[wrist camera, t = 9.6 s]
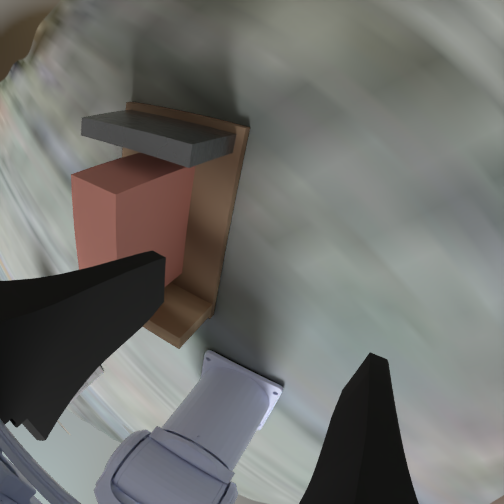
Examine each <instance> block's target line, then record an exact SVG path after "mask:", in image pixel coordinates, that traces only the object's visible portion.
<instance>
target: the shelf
mask: <svg viewBox="0 0 504 504" xmlns="http://www.w3.org/2000/svg"><path fill="white" fill-rule="evenodd" d="M126 110H136V111H141V112H146V113H151V114H156V115H161V116H165V117H170V118H174V119H179V120H183V121H188V122H192V123H196V124H200V125H204V126H208V127H212V128H216V129H219V130H223V131H227V132H231V133H234V134H237V135H236V140H235V145H234V150H233V153H231V154H228V155H225V156H222V157H219V158H216V159H213V160H210V161H207V162H205V163H202V164H199V165H196V166H195V173H194V179H193V186H192V193H191V201H190V208H189V216H188V224H187V232H186V241H185V250H184V259H183V269H182V273H181V274H180V275H179V276H178V277H177V278H175V279H174V280H173V281H172V282H170V283H169V284H168V285H167V286H166V287H165V289H164V302H163V304H162V305H161V306H160V307H159V309H158V310H157V311H156V312H155V313H154V315H153V316H152V317H151V318H150V319H149V320H148V322H147V323H145V324H144V325H143V327H144V328H146V329H147V330H149V331H151V332H152V333H154V334H155V335H157V336H159V337H160V338H162V339H163V340H165V341H167V342H168V343H170V344H172V345H173V346H175V347H177V348H178V349H180V348H181V347H182V345H183V344H184V343H185V342H186V341H187V340H188V339H189V338H190V337H191V336H192V335H193V333H194V332H195V331H196V330H197V329H198V328H199V327H200V326H201V325H202V324H203V323H204V322H205V320H206V319H207V318H209V319H210V318H211V317H212V316H213V315H214V310H215V304H216V299H217V293H218V288H219V282H220V277H221V271H222V266H223V260H224V255H225V250H226V244H227V239H228V234H229V229H230V224H231V219H232V213H233V208H234V203H235V198H236V193H237V188H238V183H239V178H240V174H241V169H242V164H243V159H244V154H245V150H246V145H247V140H248V135H249V131H250V127H247V126H243V125H239V124H235V123H231V122H228V121H224V120H220V119H215V118H211V117H207V116H203V115H198V114H194V113H189V112H185V111H180V110H175V109H170V108H165V107H160V106H154V105H149V104H143V103H137V102H127V104H126ZM136 153H140V152H137V151H134V150H131V149H127V148H124V147H123V151H122V158H123V157H126V156H129V155H133V154H136Z"/></svg>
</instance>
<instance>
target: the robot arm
mask: <svg viewBox="0 0 504 504" xmlns="http://www.w3.org/2000/svg"><path fill="white" fill-rule="evenodd" d="M165 266H166V257H164V256H162V255H160V254H158V253H157V252H155V251H153V250H152V251H148V252H143V253H139V254H135V255H132V256H128V257H125V258H121V259H118V260H114V261H110V262H107V263H103V264H100V265H96V266H93V267H88V268H84V269H80V270H76V271H72V272H68V273H64V274H59V275H54V276H48V277H41V278H34V279H23V280H12V281H0V504H42V503H41V502H40V501H39V500H38V499H37V498H36V497H35V496H33V495H34V494H35V493H36V490H35V489H34V487H35V488H36V489H37V490H38V492H40V494H41V495H43V497H44V498H45V499H46V500H48V501H49V502H50V503H51V504H81V503H79V502H78V501H77V500H76V499H75V498H74V497H73V496H71V495H70V494H69V493H68V492H67V491H66V490H65V489H64V488H62V487H61V486H60V485H59V484H58V483H57V482H56V481H55V480H54V479H53V478H52V477H51V476H50V475H49V474H48V473H47V472H46V471H45V470H44V469H43V468H42V467H41V466H40V465H39V464H38V463H37V462H36V461H35V460H34V459H33V458H32V457H31V455H30V454H29V453H28V452H27V451H26V450H25V449H24V448H23V446H22V445H21V444H20V443H19V442H18V441H17V439H16V438H15V437H14V436H13V435H12V433H11V432H10V431H9V430H8V428H7V427H6V426H5V424H6V423H7V422H8V421H9V420H10V421H11V422H12V424H13V425H14V426H15V427H18V426H19V425H20V424H23V425H24V426H25V427H26V429H28V431H29V432H30V433H31V434H32V435H33V436H34V437H35V438H36V439H37V440H42V441H43V440H46V439H47V437H48V435H49V433H50V432H51V430H52V429H53V427H54V425H55V424H56V422H57V420H58V419H59V417H60V416H61V414H62V413H63V411H64V410H65V408H66V407H67V406H68V404H69V403H70V401H71V400H72V399H73V397H74V396H75V395H76V393H77V392H78V391H79V390H80V388H81V387H82V386H83V385H84V383H85V382H86V381H87V380H88V379H89V377H90V376H91V375H92V374H93V373H94V372H95V370H96V369H97V368H98V367H99V366H100V365H101V364H102V363H103V362H104V361H105V360H106V359H107V358H108V357H109V356H110V355H111V354H112V353H114V352H115V351H116V350H117V349H118V348H119V347H120V346H121V345H122V344H124V343H125V342H126V341H127V340H128V339H129V338H130V337H131V336H132V335H134V334H135V333H136V332H137V331H138V330H139V329H140V328H141V327H142V326H143V325H144V324H145V323H147V322H148V320H149V319H150V318H151V317H152V316H153V315H154V313H155V312H156V311H157V310H158V309H159V307H160V306H161V305H162V304H163V302H164V289H165ZM282 392H283V387H282V386H281V385H279V384H277V383H275V382H272V381H270V380H268V379H266V378H264V377H262V376H260V375H258V374H256V373H254V372H252V371H250V370H248V369H246V368H244V367H242V366H240V365H238V364H236V363H234V362H232V361H230V360H228V359H226V358H224V357H223V356H221V355H219V354H217V353H215V352H213V351H211V350H207V351H206V352H205V354H204V361H203V367H202V374H201V379H200V380H199V382H198V383H197V384H196V385H195V387H194V388H193V389H192V391H191V392H190V393H189V394H188V396H187V397H186V398H185V399H184V401H183V402H182V403H181V404H180V406H179V407H178V408H177V409H176V410H175V412H174V413H173V414H172V415H171V417H170V418H169V419H168V420H167V422H166V423H165V424H164V425H163V426H162V428H160V427H158V426H157V427H156V428H155V429H154V430H153V431H152V433H151V432H149V431H148V430H142V431H136V432H134V433H132V434H131V435H129V436H128V437H127V438H126V439H125V440H124V441H123V442H122V443H121V444H120V445H119V447H118V448H117V449H116V450H115V451H114V453H113V454H112V456H111V457H110V459H109V461H108V462H107V464H106V466H105V470H104V472H103V474H102V475H101V477H100V478H99V480H98V481H97V482H96V487H95V489H94V493H95V496H96V499H97V502H98V504H234V503H235V501H236V498H237V496H238V491H237V488H236V487H237V486H236V484H235V483H233V482H231V481H230V480H231V479H232V477H233V476H234V474H235V473H234V472H232V471H233V469H234V468H235V466H236V464H237V463H238V461H239V459H240V458H241V456H242V454H243V453H244V451H245V449H246V447H247V446H248V444H249V442H250V441H251V439H252V437H253V435H254V434H255V432H256V430H261V428H262V427H263V425H264V423H265V421H266V420H267V418H268V416H269V415H270V413H271V411H272V409H273V408H274V406H275V404H276V402H277V401H278V399H279V397H280V395H281V394H282ZM2 451H3V452H4V453H5V454H6V456H7V457H8V458H9V459H10V461H11V462H12V463H13V464H14V465H15V466H16V467H15V466H14V465H13V464H12V463H11V462H10V461H9V460H7V459H6V458H5V457H4V456H3V455H2ZM32 485H33V486H34V487H33V486H32ZM299 504H419V503H418V500H417V498H416V494H415V491H414V488H413V485H412V481H411V477H410V474H409V470H408V466H407V462H406V458H405V453H404V449H403V444H402V439H401V434H400V429H399V424H398V418H397V413H396V407H395V401H394V395H393V389H392V383H391V376H390V370H389V364H388V360H387V359H385V358H382V357H380V356H377V355H375V354H373V353H369V354H368V356H367V357H366V359H365V360H364V362H363V363H362V364H361V366H360V367H359V368H358V370H357V371H356V373H355V374H354V375H353V377H352V378H351V379H350V381H349V382H348V383H347V385H346V386H345V387H344V389H343V390H342V393H341V395H340V397H339V400H338V402H337V405H336V407H335V410H334V412H333V415H332V417H331V421H330V424H329V427H328V431H327V434H326V437H325V440H324V443H323V447H322V450H321V453H320V456H319V459H318V462H317V465H316V468H315V471H314V473H313V476H312V478H311V481H310V483H309V486H308V488H307V490H306V492H305V494H304V495H303V497H302V499H301V501H300V503H299Z"/></svg>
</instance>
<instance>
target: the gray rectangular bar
mask: <svg viewBox="0 0 504 504" xmlns="http://www.w3.org/2000/svg"><path fill="white" fill-rule="evenodd" d="M81 135H82V136H86V137H89V138H93V139H96V140H100V141H103V142H107V143H110V144H114V145H117V146H121V147H124V148H127V149H131V150H134V151H137V152H140V153H144V154H147V155H150V156H153V157H157V158H160V159H163V160H166V161H169V162H172V163H175V164H178V165H181V166H184V167H187V168H191V167H193V166H196V165H199V164H202V163H205V162H207V161H210V160H213V159H216V158H219V157H222V156H225V155H228V154H231V153H233V150H234V145H235V140H236V135H237V134H234V133H231V132H227V131H223V130H219V129H216V128H212V127H208V126H204V125H200V124H196V123H192V122H188V121H183V120H179V119H174V118H170V117H165V116H161V115H156V114H151V113H146V112H141V111H136V110H124V111H117V112H111V113H105V114H99V115H93V116H88V117H83V118H82V127H81Z"/></svg>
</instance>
